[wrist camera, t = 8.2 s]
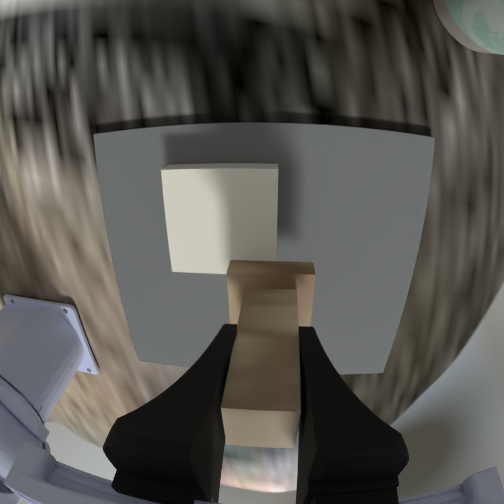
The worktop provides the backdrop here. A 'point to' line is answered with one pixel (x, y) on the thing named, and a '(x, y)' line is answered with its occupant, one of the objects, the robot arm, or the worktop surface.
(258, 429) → the stepped wooden block
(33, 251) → the worktop surface
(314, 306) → the mat
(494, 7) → the coffee cup
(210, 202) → the tile
